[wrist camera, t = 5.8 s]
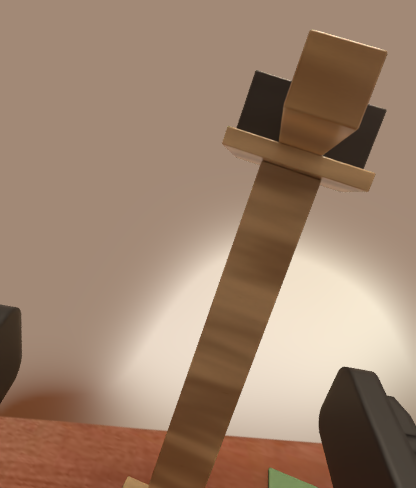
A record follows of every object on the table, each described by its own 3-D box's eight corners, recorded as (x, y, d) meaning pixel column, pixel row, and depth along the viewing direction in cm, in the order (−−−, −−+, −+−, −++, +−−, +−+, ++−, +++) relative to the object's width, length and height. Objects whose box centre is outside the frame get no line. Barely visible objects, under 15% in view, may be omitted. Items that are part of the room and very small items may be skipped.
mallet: (450, 159, 12) (511, 20, 11) (198, 80, 13) (239, -53, 12) (348, 178, 27) (370, 121, 27) (239, 143, 28) (258, 87, 28)
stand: (191, 633, 25) (376, 173, 20) (78, 579, 26) (227, 125, 21) (210, 528, 33) (346, 178, 28) (123, 490, 34) (239, 143, 29)
